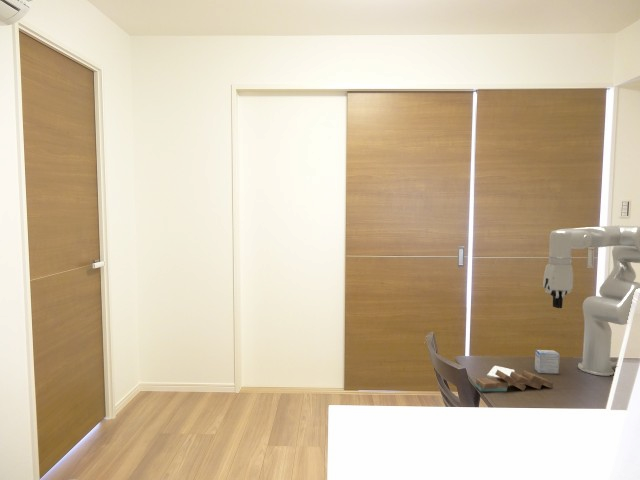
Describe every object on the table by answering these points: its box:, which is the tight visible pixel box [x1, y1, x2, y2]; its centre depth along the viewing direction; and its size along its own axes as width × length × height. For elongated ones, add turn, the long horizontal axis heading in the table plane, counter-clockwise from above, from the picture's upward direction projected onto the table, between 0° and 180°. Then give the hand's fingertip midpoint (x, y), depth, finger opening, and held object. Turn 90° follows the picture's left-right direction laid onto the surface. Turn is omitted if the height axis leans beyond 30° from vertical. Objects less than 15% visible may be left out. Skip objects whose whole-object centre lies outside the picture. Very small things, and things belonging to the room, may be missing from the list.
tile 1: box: [521, 369, 554, 389], centre depth 155 cm, size 2×5×10 cm
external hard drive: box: [486, 365, 516, 378], centre depth 166 cm, size 2×8×12 cm
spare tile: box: [474, 381, 508, 392], centre depth 153 cm, size 2×5×10 cm
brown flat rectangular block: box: [510, 372, 543, 390], centre depth 154 cm, size 2×5×10 cm
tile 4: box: [475, 377, 509, 389], centre depth 152 cm, size 2×5×10 cm
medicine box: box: [534, 349, 561, 375], centre depth 170 cm, size 8×4×9 cm, turn 84°
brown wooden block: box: [495, 370, 527, 392], centre depth 152 cm, size 2×5×10 cm
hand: (557, 307), depth 161 cm, fingers closed
